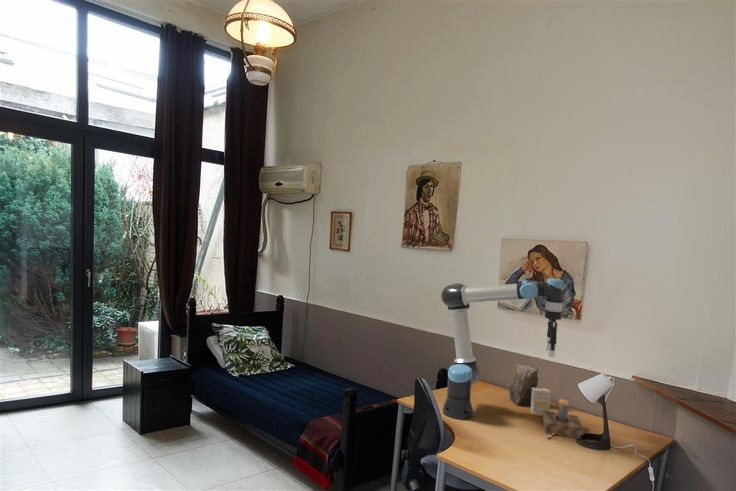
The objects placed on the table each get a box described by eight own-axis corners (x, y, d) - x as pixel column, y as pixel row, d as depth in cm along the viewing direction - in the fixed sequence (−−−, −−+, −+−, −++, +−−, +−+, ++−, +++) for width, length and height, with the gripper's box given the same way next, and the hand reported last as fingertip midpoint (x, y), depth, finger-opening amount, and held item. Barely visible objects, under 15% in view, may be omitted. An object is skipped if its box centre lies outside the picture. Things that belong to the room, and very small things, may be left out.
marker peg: (557, 430, 215) (559, 401, 215) (556, 427, 219) (558, 398, 219) (567, 432, 214) (569, 402, 214) (566, 428, 218) (568, 399, 218)
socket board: (545, 433, 212) (545, 422, 211) (542, 420, 227) (543, 410, 227) (582, 439, 207) (583, 428, 207) (577, 426, 222) (578, 416, 222)
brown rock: (507, 397, 258) (509, 362, 257) (529, 398, 259) (531, 363, 258) (516, 406, 245) (519, 369, 245) (539, 406, 246) (541, 370, 246)
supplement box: (546, 413, 237) (548, 388, 237) (549, 417, 232) (550, 391, 232) (529, 411, 238) (531, 387, 237) (532, 415, 233) (534, 390, 233)
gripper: (564, 315, 209) (561, 361, 209) (559, 308, 232) (556, 349, 233) (547, 313, 211) (544, 358, 211) (543, 306, 235) (540, 347, 235)
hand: (550, 353), depth 222 cm, fingers open, 13 cm apart
